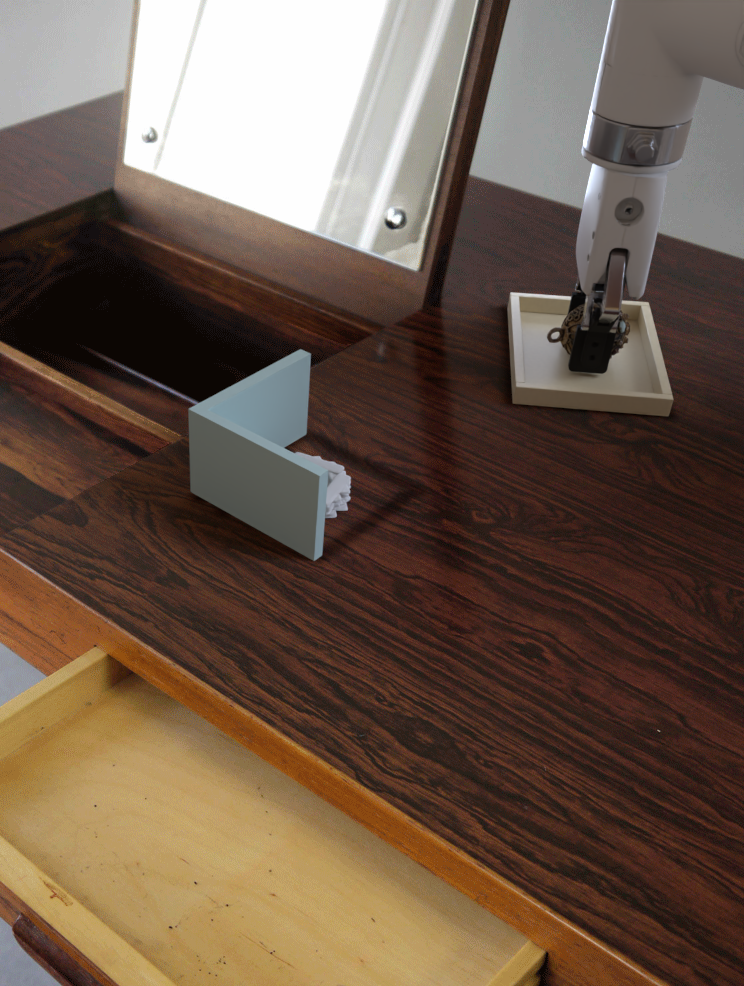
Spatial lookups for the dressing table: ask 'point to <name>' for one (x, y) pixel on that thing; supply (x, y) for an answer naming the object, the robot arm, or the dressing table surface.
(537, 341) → the cream shallow tray
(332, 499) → the l-shaped corner panel
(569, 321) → the pendant
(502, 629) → the dressing table surface
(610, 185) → the robot arm
